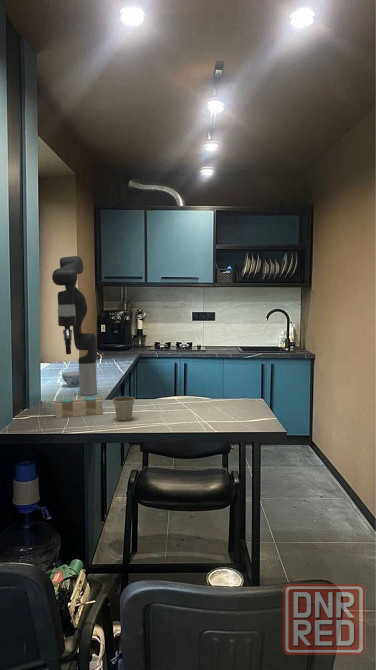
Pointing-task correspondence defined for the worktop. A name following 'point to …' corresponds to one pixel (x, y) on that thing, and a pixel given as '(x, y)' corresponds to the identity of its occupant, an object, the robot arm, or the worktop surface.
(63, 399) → the teal peg
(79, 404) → the oak block
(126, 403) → the flower pot
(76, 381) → the chinaware
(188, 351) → the worktop surface
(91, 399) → the teal peg
